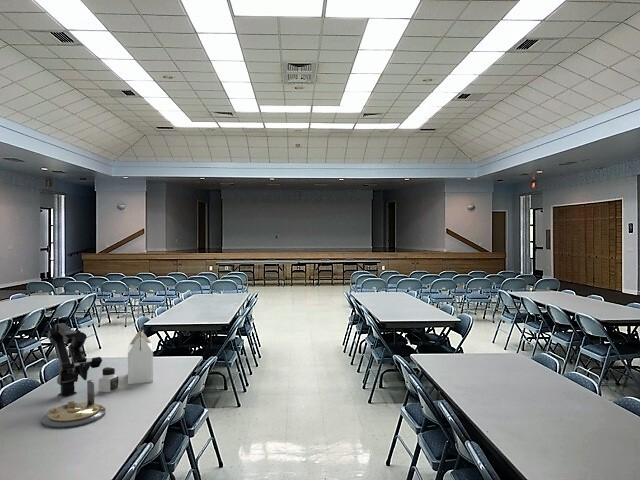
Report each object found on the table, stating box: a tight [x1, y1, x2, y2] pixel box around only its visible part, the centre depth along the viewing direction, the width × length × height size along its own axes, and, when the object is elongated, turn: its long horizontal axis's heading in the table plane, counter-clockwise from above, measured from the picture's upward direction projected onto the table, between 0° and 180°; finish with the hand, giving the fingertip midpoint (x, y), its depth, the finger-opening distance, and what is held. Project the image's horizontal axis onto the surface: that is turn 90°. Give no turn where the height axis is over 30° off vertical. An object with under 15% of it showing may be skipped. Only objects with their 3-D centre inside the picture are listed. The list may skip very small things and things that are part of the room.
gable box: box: [127, 327, 154, 385], centre depth 283 cm, size 22×13×28 cm, turn 20°
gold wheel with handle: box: [47, 379, 100, 422], centre depth 222 cm, size 21×21×12 cm
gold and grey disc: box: [41, 404, 106, 429], centre depth 223 cm, size 26×26×2 cm
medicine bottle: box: [98, 366, 119, 393], centre depth 261 cm, size 7×7×12 cm
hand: (85, 379), depth 236 cm, fingers closed
